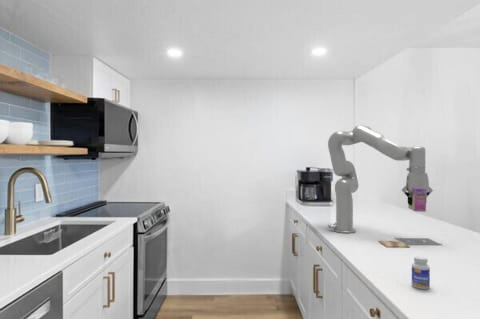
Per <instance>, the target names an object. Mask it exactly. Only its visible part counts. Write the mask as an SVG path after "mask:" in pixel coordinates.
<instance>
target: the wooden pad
mask: <svg viewBox="0 0 480 319" xmlns="http://www.w3.org/2000/svg"><path fill="white" fill-rule="evenodd" d="M378 243H379V244H381V245H382V246H384V247H385V248H399V249H400V248H402V249H403V248H405V249H406V248H407V249H408V248H409V249H411V247H410V246H411V245H406V244H404V243H403V242H401V241H398V240H378Z"/></svg>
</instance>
